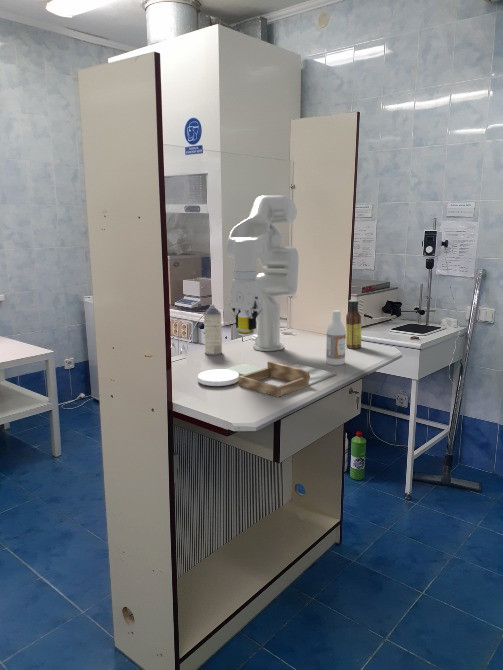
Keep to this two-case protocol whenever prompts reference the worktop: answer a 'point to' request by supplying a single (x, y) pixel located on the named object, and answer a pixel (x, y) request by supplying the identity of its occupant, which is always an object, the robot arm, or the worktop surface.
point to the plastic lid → (218, 377)
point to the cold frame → (283, 378)
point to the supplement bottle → (244, 323)
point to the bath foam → (336, 341)
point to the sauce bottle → (353, 326)
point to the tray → (244, 369)
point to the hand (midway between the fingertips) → (246, 327)
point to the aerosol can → (213, 331)
